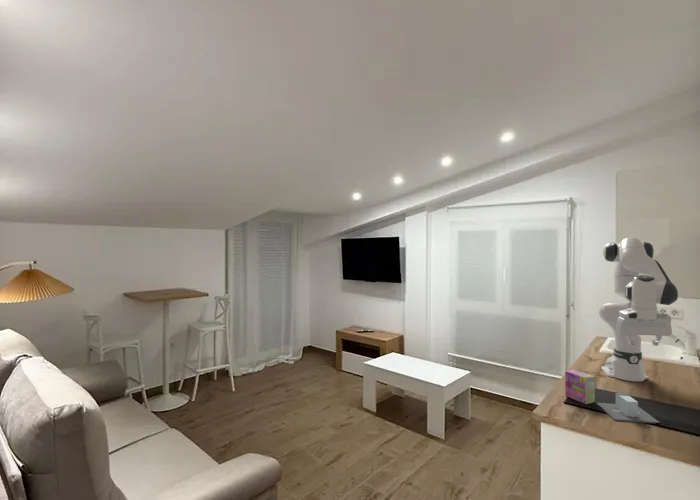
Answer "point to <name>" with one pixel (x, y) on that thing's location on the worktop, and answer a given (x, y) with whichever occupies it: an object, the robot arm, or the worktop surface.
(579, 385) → the box
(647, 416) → the mat
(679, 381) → the worktop surface
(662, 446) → the worktop surface
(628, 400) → the block
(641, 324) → the robot arm
